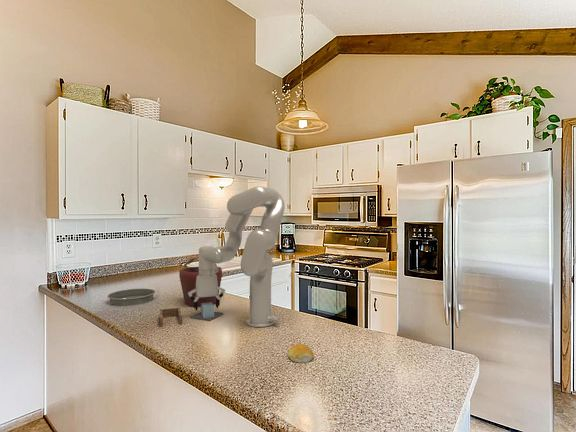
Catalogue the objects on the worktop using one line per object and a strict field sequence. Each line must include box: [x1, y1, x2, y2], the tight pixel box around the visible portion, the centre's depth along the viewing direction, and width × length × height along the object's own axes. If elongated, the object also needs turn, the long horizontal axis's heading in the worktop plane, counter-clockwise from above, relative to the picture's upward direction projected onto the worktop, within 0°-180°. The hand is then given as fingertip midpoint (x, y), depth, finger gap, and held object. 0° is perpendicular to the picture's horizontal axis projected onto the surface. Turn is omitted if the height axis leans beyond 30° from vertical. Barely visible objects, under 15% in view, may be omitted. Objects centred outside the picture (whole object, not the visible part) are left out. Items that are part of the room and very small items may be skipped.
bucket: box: [178, 256, 223, 308], centre depth 180 cm, size 24×22×25 cm
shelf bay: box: [159, 307, 183, 328], centre depth 149 cm, size 15×9×4 cm, turn 22°
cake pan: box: [106, 288, 156, 307], centre depth 185 cm, size 25×25×4 cm
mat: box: [189, 311, 224, 322], centre depth 156 cm, size 11×11×1 cm
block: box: [200, 302, 215, 318], centre depth 155 cm, size 7×5×5 cm
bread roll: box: [287, 343, 315, 364], centre depth 110 cm, size 8×9×4 cm
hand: (206, 308), depth 156 cm, fingers open, 9 cm apart
